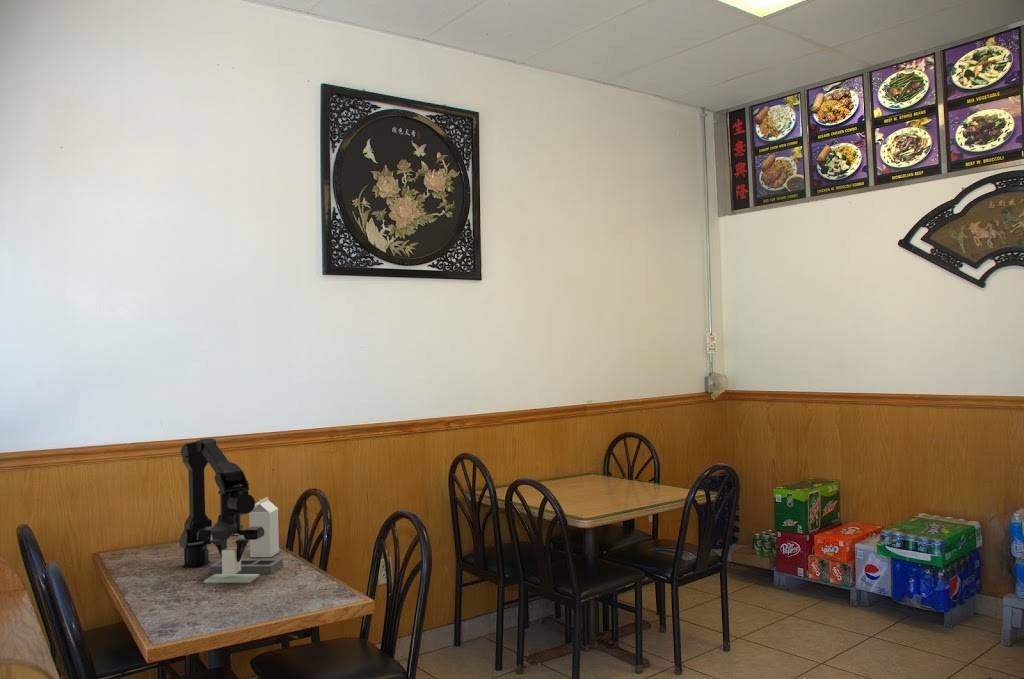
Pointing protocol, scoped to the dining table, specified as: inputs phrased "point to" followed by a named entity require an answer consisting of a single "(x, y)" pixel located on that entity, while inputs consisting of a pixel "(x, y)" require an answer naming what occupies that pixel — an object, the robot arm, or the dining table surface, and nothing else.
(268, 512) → the milk carton
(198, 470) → the robot arm
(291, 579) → the dining table surface
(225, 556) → the plug
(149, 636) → the dining table surface
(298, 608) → the dining table surface
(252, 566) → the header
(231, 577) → the mat
